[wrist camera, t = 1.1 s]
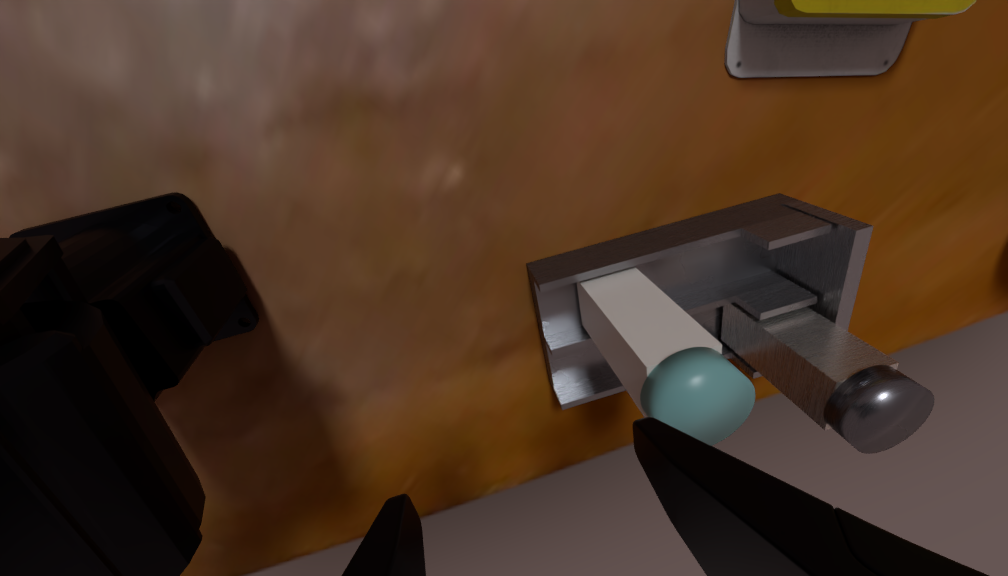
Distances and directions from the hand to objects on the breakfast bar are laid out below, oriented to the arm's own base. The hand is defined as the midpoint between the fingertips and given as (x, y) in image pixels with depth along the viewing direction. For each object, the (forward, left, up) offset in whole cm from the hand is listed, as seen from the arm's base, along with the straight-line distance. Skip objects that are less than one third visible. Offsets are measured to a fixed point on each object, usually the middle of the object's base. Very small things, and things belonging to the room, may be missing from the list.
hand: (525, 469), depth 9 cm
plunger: (+6, -4, -11) cm, 14 cm away
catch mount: (+10, -6, -13) cm, 17 cm away
